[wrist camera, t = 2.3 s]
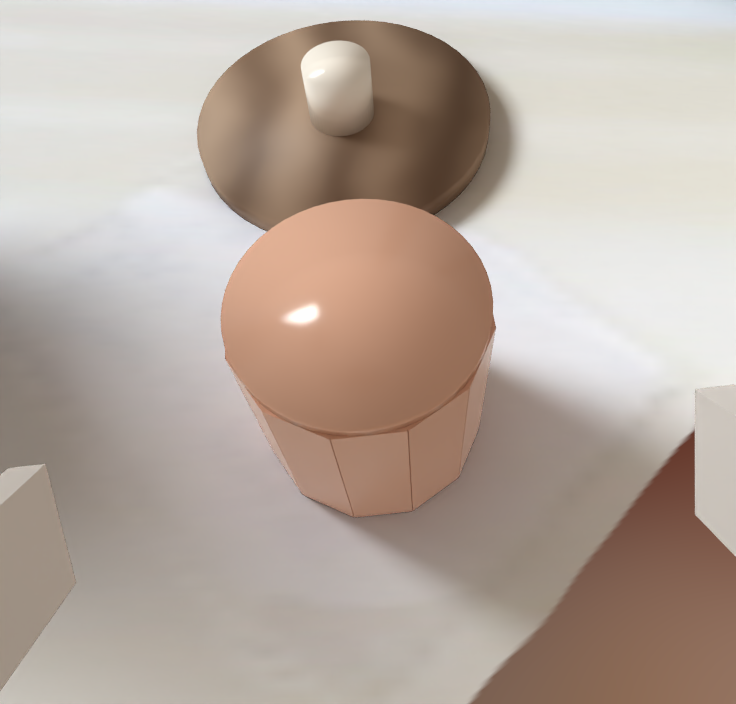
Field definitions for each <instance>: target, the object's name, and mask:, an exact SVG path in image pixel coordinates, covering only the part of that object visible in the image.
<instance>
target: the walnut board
mask: <svg viewBox="0 0 736 704" xmlns="http://www.w3.org/2000/svg"><path fill="white" fill-rule="evenodd" d="M330 41H349V42H353V43H356V44H358V45H360V46H361V47H363V48H364V49H365V50H366V51H367V53H368V55H369V57H370V67H371V79H372V91H373V103H374V116H373V119H372V121H371V122H370V123H369V125H368V126H367V127H365V128H364V129H363V130H361V131H359V132H357V133H355V134H352V135H348V136H330V135H326V134H324V133H322V132H320V131H318V130H317V129H316V128H315V127H314V126H313V125H312V123H311V120H310V115H309V109H308V104H307V98H306V93H305V88H304V82H303V77H302V71H301V62H302V59H303V57H304V56H305V55H306V53H307V52H308V51H310V50H311V49H312V48H314V47H316V46H317V45H320V44H322V43H325V42H330ZM489 125H490V105H489V99H488V94H487V92H486V89H485V86H484V83H483V81H482V80H481V78H480V76H479V74H478V73H477V71H476V70H475V69H474V67H473V66H472V65H471V64H470V62H469V61H468V60H467V59H466V58H465V57H463V56H462V55H461V54H460V53H459V52H458V51H457V50H455V49H454V48H452V47H451V46H450V45H448V44H447V43H445V42H443V41H441V40H440V39H438V38H436V37H434V36H432V35H430V34H427V33H424V32H422V31H419V30H417V29H413V28H410V27H406V26H402V25H398V24H392V23H387V22H378V21H338V22H329V23H323V24H317V25H313V26H309V27H305V28H301V29H297V30H294V31H292V32H289V33H286V34H283V35H281V36H278V37H276V38H274V39H272V40H269V41H267V42H265V43H264V44H262V45H260V46H258V47H256V48H255V49H253V50H251V51H250V52H249V53H247V54H246V55H244V56H243V57H241V58H240V59H239V60H238V61H236V62H235V63H234V64H233V65H232V66H231V67H229V68H228V69H227V70H226V72H225V73H224V74H223V75H222V76H221V77H220V78H219V79H218V80H217V82H216V83H215V85H214V86H213V88H212V89H211V90H210V92H209V94H208V96H207V98H206V100H205V102H204V104H203V107H202V110H201V113H200V116H199V121H198V128H197V139H198V148H199V152H200V156H201V159H202V162H203V164H204V167H205V170H206V172H207V175H208V177H209V179H210V181H211V184H212V186H213V188H214V189H215V190H216V192H217V193H218V195H219V196H220V198H221V199H222V200H223V201H224V202H225V203H226V204H227V205H228V206H229V207H230V208H231V209H232V210H233V211H234V212H235V213H237V214H238V215H239V216H241V217H242V218H243V219H245V220H246V221H248V222H250V223H252V224H254V225H255V226H257V227H259V228H261V229H264V230H266V231H269V230H270V229H271V228H273V227H274V226H276V225H277V224H279V223H280V222H282V221H284V220H285V219H287V218H289V217H291V216H293V215H295V214H297V213H299V212H302V211H304V210H307V209H310V208H312V207H315V206H319V205H322V204H326V203H330V202H336V201H342V200H351V199H379V200H387V201H394V202H398V203H402V204H406V205H410V206H413V207H416V208H418V209H421V210H424V211H426V212H428V213H430V214H432V215H434V214H436V213H437V212H439V211H440V210H442V209H443V208H445V207H446V206H447V205H448V204H450V203H451V202H452V201H453V200H454V199H455V198H456V197H457V196H458V195H460V194H461V192H462V191H463V190H464V189H465V188H466V187H467V185H468V184H469V183H470V182H471V180H472V179H473V177H474V176H475V174H476V172H477V171H478V169H479V167H480V165H481V162H482V160H483V157H484V155H485V151H486V147H487V142H488V135H489Z"/></svg>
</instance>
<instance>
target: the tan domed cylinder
mask: <svg viewBox="0 0 736 704" xmlns="http://www.w3.org/2000/svg"><path fill="white" fill-rule="evenodd" d="M495 330H496V326H495V321H494V317H493V297H492V290H491V285H490V282H489V278H488V275H487V272H486V270H485V268H484V266H483V263H482V261H481V259H480V258H479V256H478V255H477V253H476V252H475V250H474V249H473V247H472V246H471V245H470V244H469V243H468V242H467V240H466V239H465V238H464V237H463V236H462V235H461V234H460V233H458V232H457V231H456V230H455V229H454V228H453V227H451V226H450V225H449V224H447V223H446V222H444V221H443V220H441V219H439V218H438V217H436V216H434V215H432V214H430V213H428V212H426V211H424V210H421V209H418V208H416V207H413V206H410V205H406V204H402V203H398V202H394V201H387V200H379V199H351V200H342V201H336V202H330V203H326V204H322V205H319V206H315V207H312V208H310V209H307V210H304V211H302V212H299V213H297V214H295V215H293V216H291V217H289V218H287V219H285V220H284V221H282V222H280V223H279V224H277V225H276V226H274V227H273V228H271V229H270V230H269V231H267V232H266V233H265V234H264V235H263V236H261V237H260V238H259V239H258V240H257V241H256V242H255V243H254V244H253V245H252V246H251V247H250V248H249V249H248V250H247V252H246V253H245V254H244V256H243V257H242V258H241V260H240V261H239V262H238V264H237V266H236V268H235V269H234V271H233V273H232V275H231V277H230V279H229V282H228V284H227V287H226V290H225V294H224V298H223V302H222V310H221V332H222V337H223V342H224V346H225V359H226V361H227V363H228V365H229V367H230V369H231V371H232V373H233V375H234V377H235V379H236V381H237V383H238V384H239V386H240V388H241V390H242V392H243V394H244V396H245V398H246V400H247V402H248V404H249V406H250V408H251V409H252V411H253V413H254V415H255V417H256V419H257V421H258V423H259V425H260V427H261V429H262V431H263V433H264V434H265V436H266V438H267V440H268V442H269V444H270V446H271V448H272V450H273V452H274V453H275V455H276V456H277V458H278V459H279V461H280V462H281V464H282V465H283V467H284V468H285V469H286V471H287V472H288V474H289V475H290V477H291V478H292V480H293V481H294V483H295V484H296V486H297V487H298V489H299V490H300V491H301V493H302V494H303V495H304V496H307V497H309V498H311V499H313V500H316V501H318V502H320V503H322V504H325V505H327V506H329V507H331V508H334V509H336V510H338V511H341V512H343V513H345V514H347V515H350V516H352V517H364V516H374V515H383V514H392V513H401V512H410V511H412V510H413V511H414V510H415V509H416V508H418V507H419V506H420V505H422V504H423V503H425V502H426V501H427V500H429V499H430V498H431V497H433V496H434V495H436V494H437V493H438V492H440V491H441V490H442V489H444V488H445V487H447V486H448V485H449V484H451V483H452V482H453V481H455V480H456V479H458V477H459V476H460V473H461V471H462V469H463V466H464V464H465V461H466V459H467V456H468V454H469V452H470V449H471V447H472V444H473V442H474V440H475V437H476V435H477V432H478V430H479V425H480V419H481V413H482V407H483V401H484V395H485V389H486V383H487V377H488V371H489V365H490V360H491V354H492V348H493V342H494V336H495Z"/></svg>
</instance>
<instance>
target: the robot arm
mask: <svg viewBox="0 0 736 704" xmlns="http://www.w3.org/2000/svg"><path fill="white" fill-rule="evenodd" d="M695 515H696V516H697V517H698V518H699V519H700V520H701V521H702V522H703V523H704V524H705V525H706V526H707V527H708V528H709V529H710V530H711V532H712V533H713V534H714V535H715V536H716V537H717V538H718V539H719V540H720V541H721V542H722V543H723V544H724V545H725V546H726V547H727V548H728V549H729V550H730V551H731V552H732V553H733V554H734V555H735V556H736V386H735V385H726V386H718V387H709V388H700V389H695ZM75 584H76V580H75V576H74V572H73V568H72V565H71V561H70V557H69V553H68V549H67V545H66V541H65V537H64V534H63V530H62V526H61V522H60V518H59V514H58V510H57V506H56V502H55V499H54V495H53V491H52V487H51V483H50V479H49V475H48V471H47V468H46V464H39V465H30V466H21V467H13V468H8V469H7V470H6V471H4V472H3V473H2V474H1V475H0V691H1V689H2V688H3V686H4V685H5V684H6V682H7V681H8V679H9V678H10V676H11V675H12V674H13V672H14V671H15V669H16V668H17V666H18V665H19V664H20V662H21V661H22V659H23V658H24V656H25V655H26V654H27V652H28V651H29V649H30V648H31V646H32V645H33V644H34V642H35V641H36V639H37V638H38V636H39V635H40V634H41V632H42V631H43V629H44V628H45V626H46V625H47V624H48V622H49V621H50V619H51V618H52V617H53V615H54V614H55V612H56V611H57V609H58V608H59V607H60V605H61V604H62V602H63V601H64V599H65V598H66V597H67V595H68V594H69V592H70V591H71V589H72V588H73V587H74V585H75Z"/></svg>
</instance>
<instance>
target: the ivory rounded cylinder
mask: <svg viewBox="0 0 736 704" xmlns="http://www.w3.org/2000/svg"><path fill="white" fill-rule="evenodd" d="M301 71H302V77H303V82H304V88H305V93H306V98H307V104H308V109H309V115H310V120H311V123H312V125H313V126H314V127H315V128H316V129H317V130H318V131H320V132H322V133H324V134H326V135H330V136H348V135H352V134H355V133H357V132H359V131H361V130H363V129H364V128H365V127H367V126H368V125H369V123H370V122H371V121H372V119H373V116H374V103H373V91H372V79H371V67H370V57H369V55H368V53H367V51H366V50H365V49H364V48H363V47H361V46H360V45H358V44H356V43H353V42H349V41H330V42H325V43H322V44H320V45H317V46H316V47H314V48H312V49H311V50H310V51H308V52H307V53H306V55H305V56H304V57H303V59H302V62H301Z"/></svg>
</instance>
